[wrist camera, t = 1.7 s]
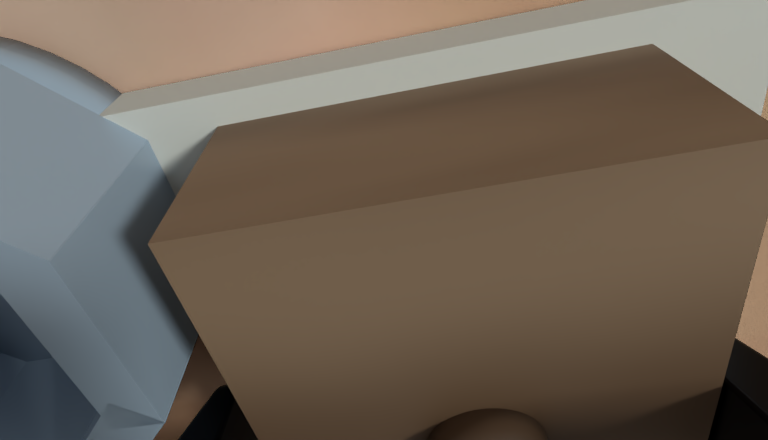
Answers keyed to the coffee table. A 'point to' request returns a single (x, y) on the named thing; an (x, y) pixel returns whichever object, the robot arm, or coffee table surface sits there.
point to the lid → (479, 256)
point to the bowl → (80, 262)
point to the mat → (453, 66)
